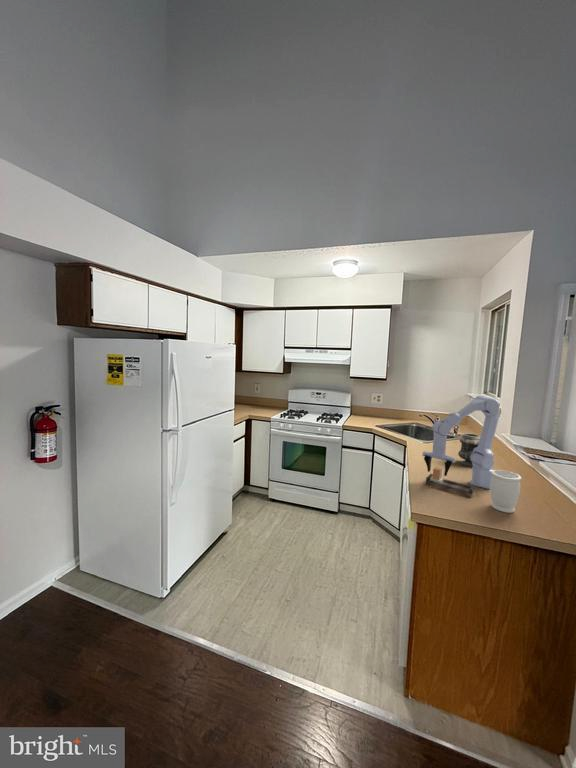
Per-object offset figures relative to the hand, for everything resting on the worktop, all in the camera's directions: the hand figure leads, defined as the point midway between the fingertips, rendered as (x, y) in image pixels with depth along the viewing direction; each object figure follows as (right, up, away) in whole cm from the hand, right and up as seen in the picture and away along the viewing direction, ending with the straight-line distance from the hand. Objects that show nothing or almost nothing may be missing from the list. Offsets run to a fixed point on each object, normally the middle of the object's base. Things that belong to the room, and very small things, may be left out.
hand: (437, 473), depth 156 cm
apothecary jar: (+33, -4, +31) cm, 46 cm away
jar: (+17, -9, -22) cm, 29 cm away
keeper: (0, -4, 0) cm, 4 cm away
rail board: (+5, -6, -3) cm, 8 cm away
